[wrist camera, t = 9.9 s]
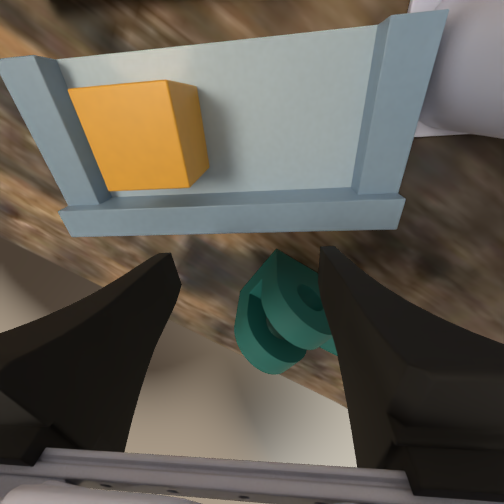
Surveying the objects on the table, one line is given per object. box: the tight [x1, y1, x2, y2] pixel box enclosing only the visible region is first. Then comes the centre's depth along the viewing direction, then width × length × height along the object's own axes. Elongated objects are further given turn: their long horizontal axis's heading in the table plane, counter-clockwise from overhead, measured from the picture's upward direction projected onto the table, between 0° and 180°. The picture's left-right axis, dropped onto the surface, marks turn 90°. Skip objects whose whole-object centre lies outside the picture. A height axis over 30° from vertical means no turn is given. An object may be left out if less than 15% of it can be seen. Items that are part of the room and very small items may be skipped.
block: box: [68, 79, 210, 191], centre depth 13 cm, size 4×4×4 cm
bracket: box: [234, 249, 337, 374], centre depth 23 cm, size 18×7×8 cm, turn 58°
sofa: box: [0, 9, 449, 237], centre depth 15 cm, size 22×10×6 cm, turn 94°
